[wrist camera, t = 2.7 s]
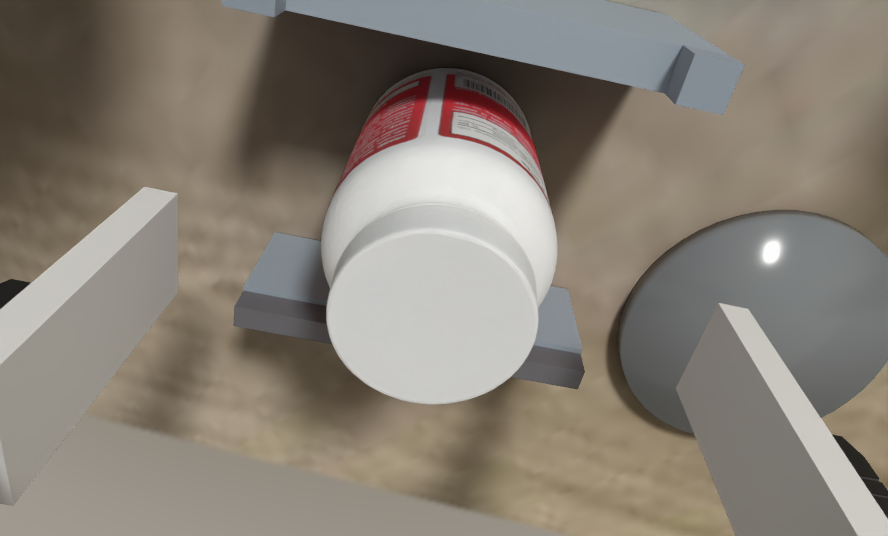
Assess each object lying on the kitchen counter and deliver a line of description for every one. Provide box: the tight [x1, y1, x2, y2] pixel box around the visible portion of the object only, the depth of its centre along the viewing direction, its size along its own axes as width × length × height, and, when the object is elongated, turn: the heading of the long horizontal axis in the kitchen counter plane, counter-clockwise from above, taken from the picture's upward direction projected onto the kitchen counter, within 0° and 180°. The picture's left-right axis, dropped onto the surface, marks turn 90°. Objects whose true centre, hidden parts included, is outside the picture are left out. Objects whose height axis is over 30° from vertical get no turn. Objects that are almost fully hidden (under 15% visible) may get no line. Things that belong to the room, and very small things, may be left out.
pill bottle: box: [321, 68, 557, 404], centre depth 19 cm, size 6×6×11 cm
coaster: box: [618, 210, 888, 434], centre depth 27 cm, size 11×11×1 cm
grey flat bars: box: [222, 0, 745, 389], centre depth 20 cm, size 12×12×7 cm
